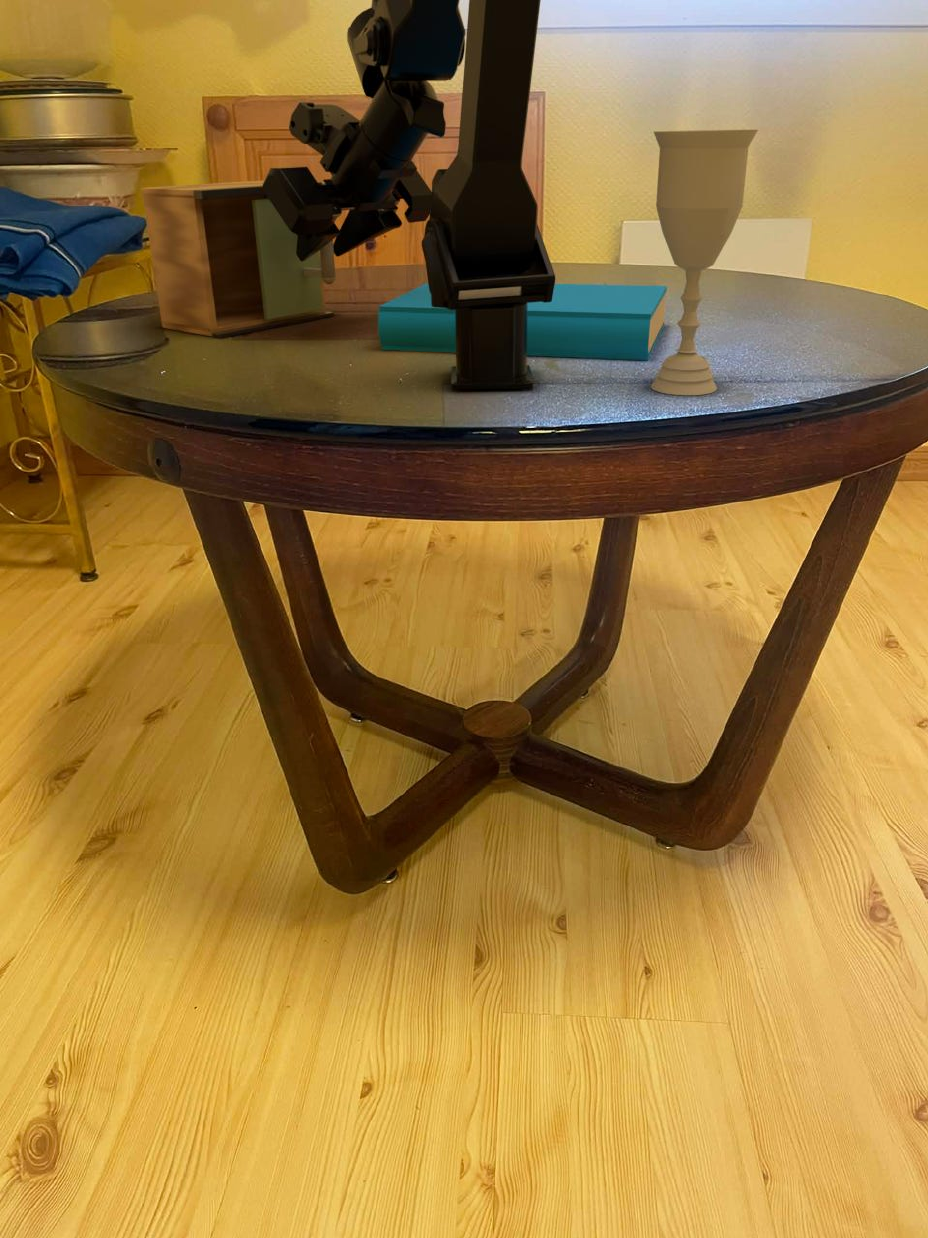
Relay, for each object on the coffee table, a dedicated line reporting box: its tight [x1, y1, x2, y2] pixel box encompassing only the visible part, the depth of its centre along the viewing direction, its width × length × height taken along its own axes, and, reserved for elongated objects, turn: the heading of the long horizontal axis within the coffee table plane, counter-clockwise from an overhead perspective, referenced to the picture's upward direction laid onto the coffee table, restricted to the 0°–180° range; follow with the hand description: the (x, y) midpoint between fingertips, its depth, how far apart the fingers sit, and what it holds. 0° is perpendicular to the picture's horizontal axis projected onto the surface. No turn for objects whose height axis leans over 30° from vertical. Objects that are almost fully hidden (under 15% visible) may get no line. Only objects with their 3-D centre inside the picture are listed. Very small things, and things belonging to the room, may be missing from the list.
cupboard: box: [141, 179, 335, 339], centre depth 103 cm, size 10×16×14 cm, turn 140°
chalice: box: [650, 129, 759, 396], centre depth 72 cm, size 7×7×18 cm
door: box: [252, 198, 336, 320], centre depth 101 cm, size 5×8×12 cm, turn 140°
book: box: [377, 282, 668, 361], centre depth 94 cm, size 17×4×25 cm
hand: (317, 255), depth 102 cm, fingers open, 5 cm apart
